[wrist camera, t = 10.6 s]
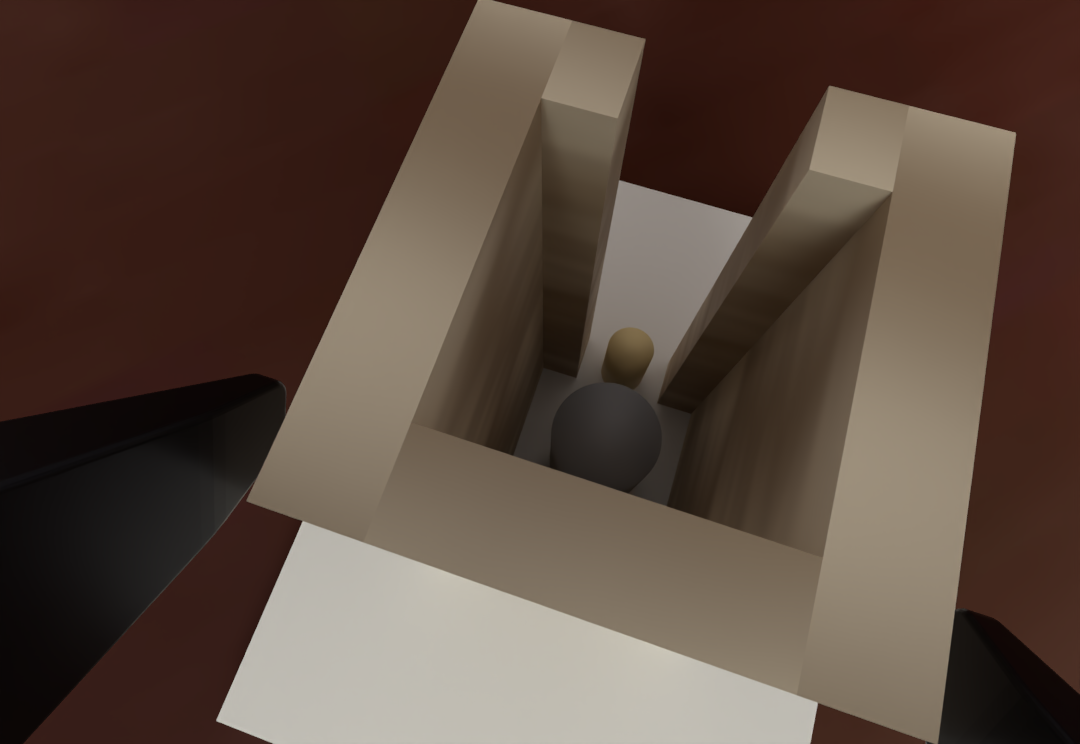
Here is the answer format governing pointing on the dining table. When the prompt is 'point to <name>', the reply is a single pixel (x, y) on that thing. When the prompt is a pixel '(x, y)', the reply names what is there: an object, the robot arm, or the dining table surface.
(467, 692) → the post plate
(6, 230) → the dining table surface
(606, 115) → the beech collar
